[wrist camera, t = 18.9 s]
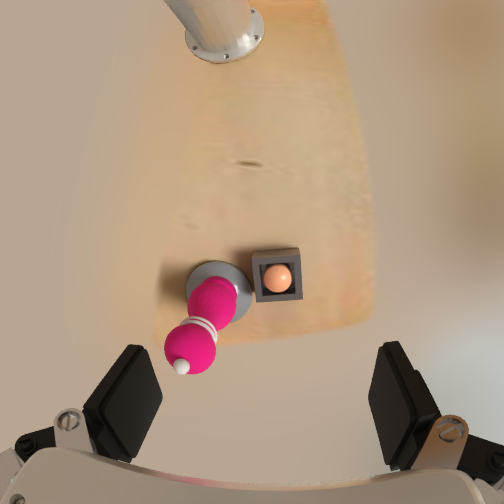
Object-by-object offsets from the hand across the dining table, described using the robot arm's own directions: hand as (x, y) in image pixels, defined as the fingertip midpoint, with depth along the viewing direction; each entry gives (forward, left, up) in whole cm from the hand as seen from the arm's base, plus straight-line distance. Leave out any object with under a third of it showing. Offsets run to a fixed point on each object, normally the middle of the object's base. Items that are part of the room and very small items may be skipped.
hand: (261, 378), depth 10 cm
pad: (+11, -11, -34) cm, 37 cm away
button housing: (+8, -1, -34) cm, 35 cm away
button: (+8, -1, -33) cm, 34 cm away
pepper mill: (+11, -10, -33) cm, 37 cm away
